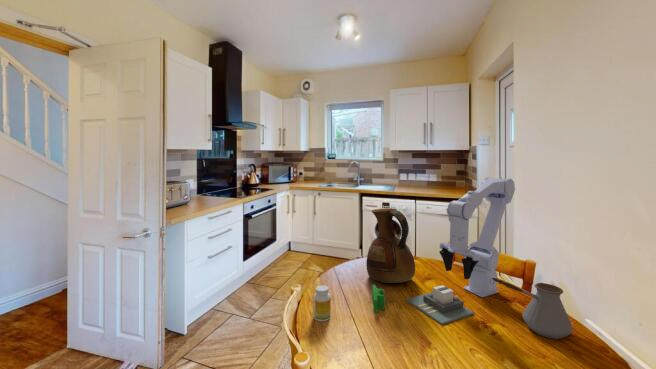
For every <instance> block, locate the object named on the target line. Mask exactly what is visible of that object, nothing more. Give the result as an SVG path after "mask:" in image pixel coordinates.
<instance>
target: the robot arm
mask: <svg viewBox="0 0 656 369" xmlns="http://www.w3.org/2000/svg"><path fill="white" fill-rule="evenodd" d="M515 187H516V186H515V182H514V180H513V179H512V178H496V177H484V179H482V180H481V183H480V186H479V187H477V189H476V190H469V191H467V193H465V194H464V195H462V196H461V197H460V198H459V199H458V200H452V201H450V202H449V203H448V205H447V208H446V213H447V215H448V222H449V223H450V224H449V243H447V242H440V243H439V248H440V249H441V250H439V252H438V253H439V255H440V256H441V258H442V261H443V264H444V269H445V271H446V272H449V271H452V269H453V260H454V256H455V254H457V255H460V256H462V257H464V258H461V262H462V266H463V279H464V280H468V285H467V286H466V285H465V286H463V290H466V291H468V292H470V293H472V294H474V295H476V296H478V297H480V298H485V297H488V296H491V295H494V294H497V293H499V290H498V289H497V288H498V282H496V281H495V282H494V280H493V279H491V278H496V279H498V274H497V271H496V269H497V267H498V265H499V256H500V253H499V251H498V250H497V248H496V247H495V246H494V244H495V240H496V238H497V234H498V231H499V229H500V224H501V222H502V220H503V216H504V213H505V211H506V207H507V205H508V204H510V203H511V202H512V200H513V197H514V194H515V191H516V188H515ZM484 198H485V200H486V201H488V202H489V204H490V205H489V208H488V211H487V215H486V217H485V220H484V223H483V225H482V227H481V231H480V234H479V236H478V239H477V240H476V241H474V242H472V243H469V225H470V224H469V223H470V222H469V220H470V219H471V218H472V217H473V215H474V212H475V210H476V209H477V208H478V207H479V206H480V205H482V204H483V199H484ZM490 279H491V281H490ZM490 282H491V284H490ZM493 283H494V284H493Z"/></svg>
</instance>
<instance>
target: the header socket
mask: <svg viewBox="0 0 656 369" xmlns="http://www.w3.org/2000/svg"><path fill="white" fill-rule="evenodd" d="M405 301H406V302H407V303H409V304H410V305H412V306H413V307H414V308H416V309H417V310H420V312H422V313H424V314H425V315H427V316H428V317H430V318H431V319H432V320H434V321H435V322H437V323H438V324H439V325H441V326H443V325H445V324H449V323H452V322H454V321H457V320H460V319H464V318H467V317H470V316H473V315H475V311H472V310H470V309H469V308H467V307H465V306H464V301H463V300H462V299H460V298H459V296H458V295H453V302H452V303H449V304H445V305H443V304H441V303H439V302H438V301H436V300H434V299H433V291H431V292H427V293H424V294H421V295H420V294H419V295H416V296H412V297H410V298H406V299H405Z"/></svg>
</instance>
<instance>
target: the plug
mask: <svg viewBox="0 0 656 369" xmlns="http://www.w3.org/2000/svg"><path fill="white" fill-rule="evenodd" d="M432 292H433V299H434V300H436V301H438V302H439V303H441V304H443V305H445V304H449V303H452V302H453V296H454V290H452V289H451V288H450V287H448V286H445V285H438V286H434V287H432Z"/></svg>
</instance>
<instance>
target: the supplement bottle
mask: <svg viewBox="0 0 656 369" xmlns="http://www.w3.org/2000/svg"><path fill="white" fill-rule="evenodd" d="M331 303H332V302H331V294H330V293H329V286H327V285H322V284H321V285H318V286H316V287H315V293H314V294H313V318H314V320H315V321H317V322H326V321H328V320H330V318H331V313H332V312H331V308H332V307H331Z"/></svg>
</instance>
